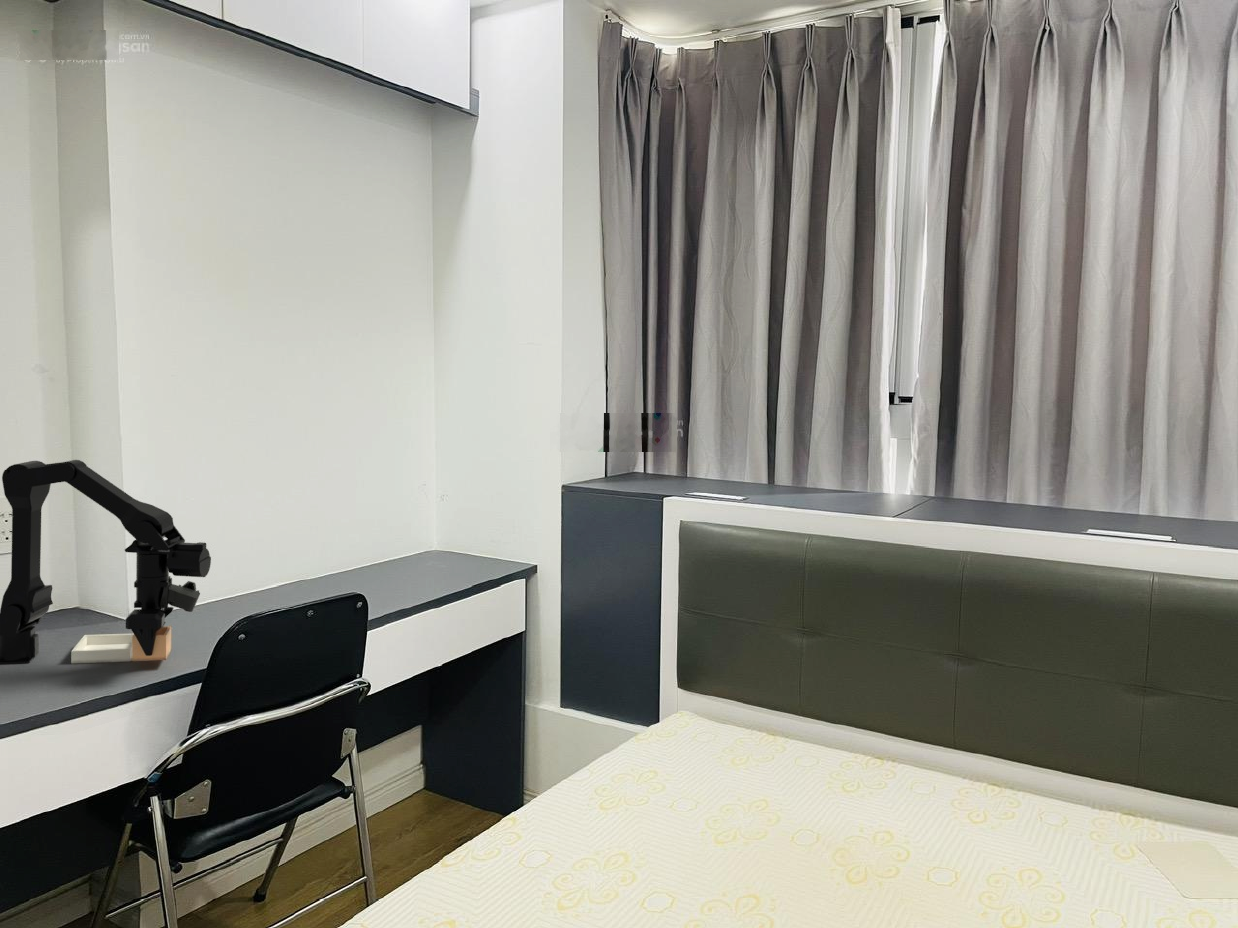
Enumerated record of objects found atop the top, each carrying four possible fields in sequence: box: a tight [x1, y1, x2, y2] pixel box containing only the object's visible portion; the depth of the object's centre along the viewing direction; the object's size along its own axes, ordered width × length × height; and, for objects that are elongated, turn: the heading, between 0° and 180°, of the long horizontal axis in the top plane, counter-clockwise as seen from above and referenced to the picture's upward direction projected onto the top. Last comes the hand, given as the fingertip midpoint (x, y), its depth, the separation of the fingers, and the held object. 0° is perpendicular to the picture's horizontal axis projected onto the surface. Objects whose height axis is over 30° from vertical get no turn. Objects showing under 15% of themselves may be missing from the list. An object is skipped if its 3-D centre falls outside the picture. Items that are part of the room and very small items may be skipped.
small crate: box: [131, 625, 172, 662], centre depth 180 cm, size 6×6×5 cm
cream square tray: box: [70, 633, 134, 664], centre depth 184 cm, size 10×10×2 cm
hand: (151, 650), depth 180 cm, fingers closed on small crate, 6 cm apart
